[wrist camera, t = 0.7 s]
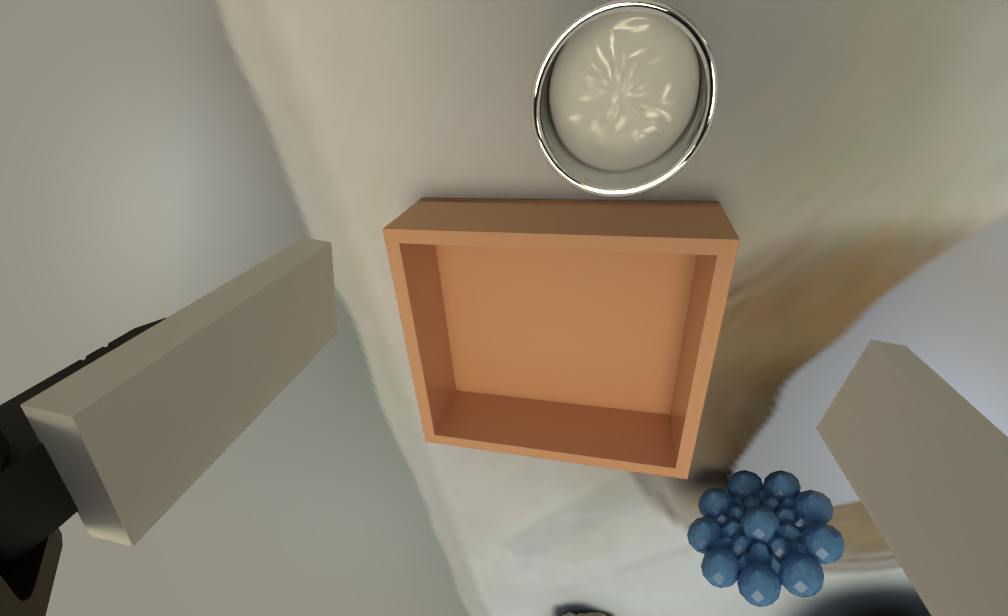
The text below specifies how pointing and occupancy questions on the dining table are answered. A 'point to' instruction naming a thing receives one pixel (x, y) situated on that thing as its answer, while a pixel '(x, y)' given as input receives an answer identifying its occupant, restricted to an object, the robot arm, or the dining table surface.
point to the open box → (563, 324)
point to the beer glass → (624, 97)
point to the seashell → (586, 614)
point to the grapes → (765, 536)
